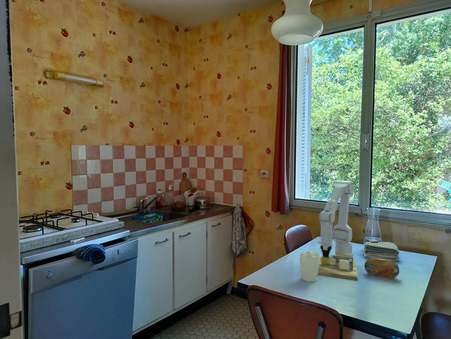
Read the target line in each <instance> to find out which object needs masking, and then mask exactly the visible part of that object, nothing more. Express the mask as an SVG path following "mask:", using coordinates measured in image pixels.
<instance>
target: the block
mask: <svg viewBox="0 0 451 339" xmlns="http://www.w3.org/2000/svg"><path fill="white" fill-rule="evenodd" d="M339 260H340V262H339V268H341V269H349V261H350V258H346V259H345V258H339Z"/></svg>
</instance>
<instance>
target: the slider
mask: <svg viewBox="0 0 451 339" xmlns="http://www.w3.org/2000/svg"><path fill="white" fill-rule="evenodd" d="M321 257H322V260H321V264H323V265H331V266H338V269H339V270H346V271H351V268H350V265H351V264H350V263H349V269H341V268H339V262H338V264H337V265H336V264H333V263H330V257H323V255H322V256H321Z"/></svg>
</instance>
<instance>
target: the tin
mask: <svg viewBox="0 0 451 339" xmlns="http://www.w3.org/2000/svg"><path fill="white" fill-rule="evenodd" d="M363 266H364V271H365V272H366V273H367V274H369V275H370V276H374V277H378V278H385V279H395V278H396V277H398V275H399V274H400V268H399V266H398V264H397V263H396V261H391V260H385V259H378V258H367V259H366V261H365V263H364V265H363Z"/></svg>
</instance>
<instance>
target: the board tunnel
mask: <svg viewBox="0 0 451 339" xmlns="http://www.w3.org/2000/svg"><path fill="white" fill-rule="evenodd" d="M337 257H343V258H346V259H351V260H349V263H350V264H351V265H350V268H351V271H346V270H339V269H338V266H331V265H323V264H321V260H322V256H319V258H320V263H319V269H318V274H317V275H319V276H320V275H321V276H327V277H334V278H339V279H340V278H342V279H348V280H355V281H358V277H359V275H358V268H357V261H354V253H352V254H347V253H339V252H336V257H335V258H330V263H333V264H336V265H337V264H338V262H340V258H337Z"/></svg>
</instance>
